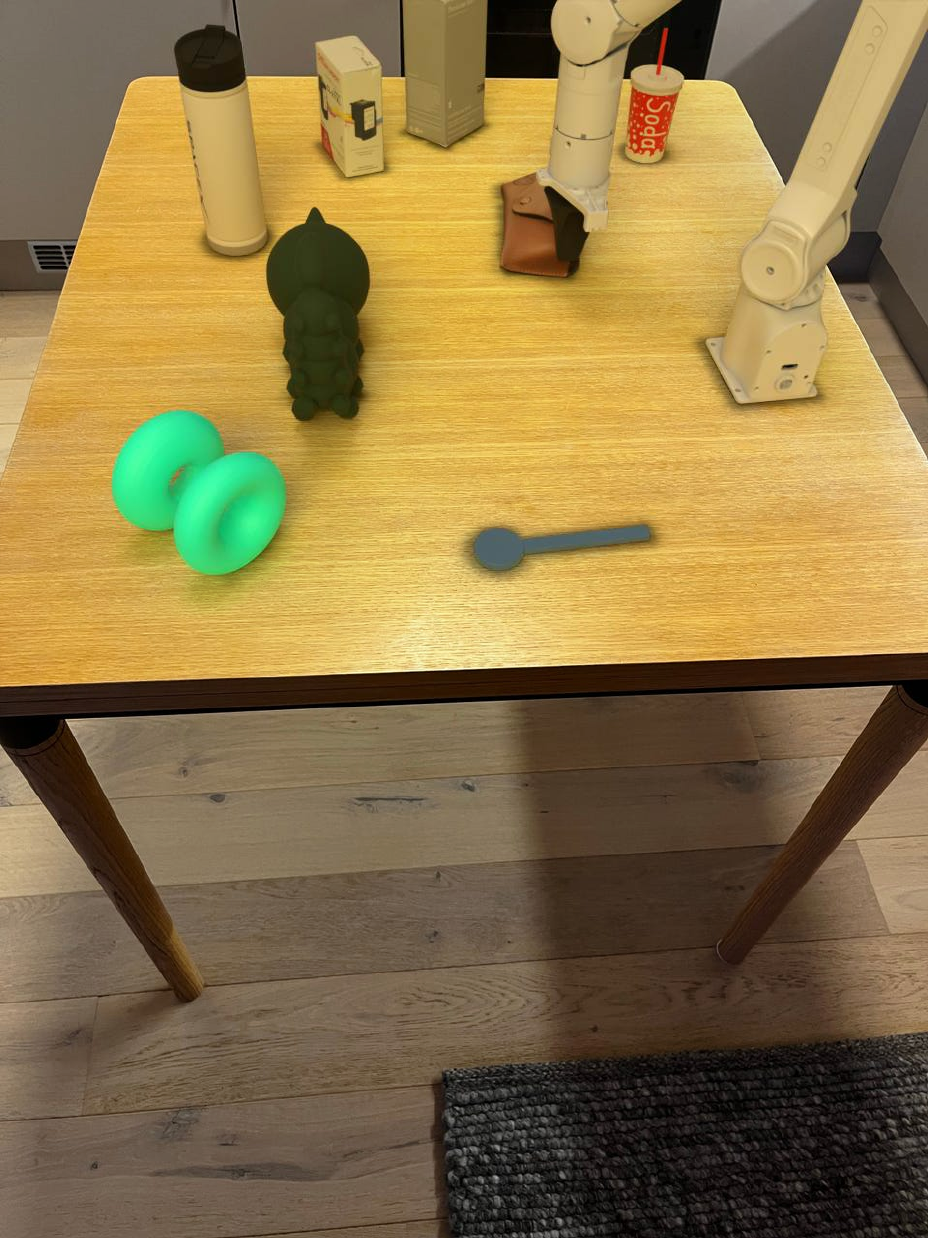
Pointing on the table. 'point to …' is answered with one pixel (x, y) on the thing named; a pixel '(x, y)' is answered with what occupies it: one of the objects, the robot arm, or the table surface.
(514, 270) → the sunglasses case
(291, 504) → the table surface
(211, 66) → the travel mug
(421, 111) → the cosmetic box
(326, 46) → the ink box
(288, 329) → the toy figurine
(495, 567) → the spoon
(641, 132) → the beverage cup
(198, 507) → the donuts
